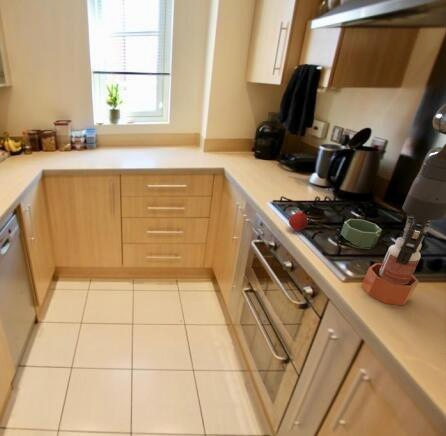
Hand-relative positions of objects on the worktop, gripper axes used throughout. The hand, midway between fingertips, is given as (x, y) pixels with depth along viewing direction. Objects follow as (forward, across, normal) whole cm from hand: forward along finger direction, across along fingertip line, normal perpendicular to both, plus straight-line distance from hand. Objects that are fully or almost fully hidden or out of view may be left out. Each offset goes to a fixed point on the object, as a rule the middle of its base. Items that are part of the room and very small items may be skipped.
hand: (402, 256), depth 79 cm
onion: (+12, +20, +28) cm, 36 cm away
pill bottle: (+7, 0, 0) cm, 7 cm away
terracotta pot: (+12, 0, 0) cm, 12 cm away
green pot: (+12, +25, +10) cm, 30 cm away
